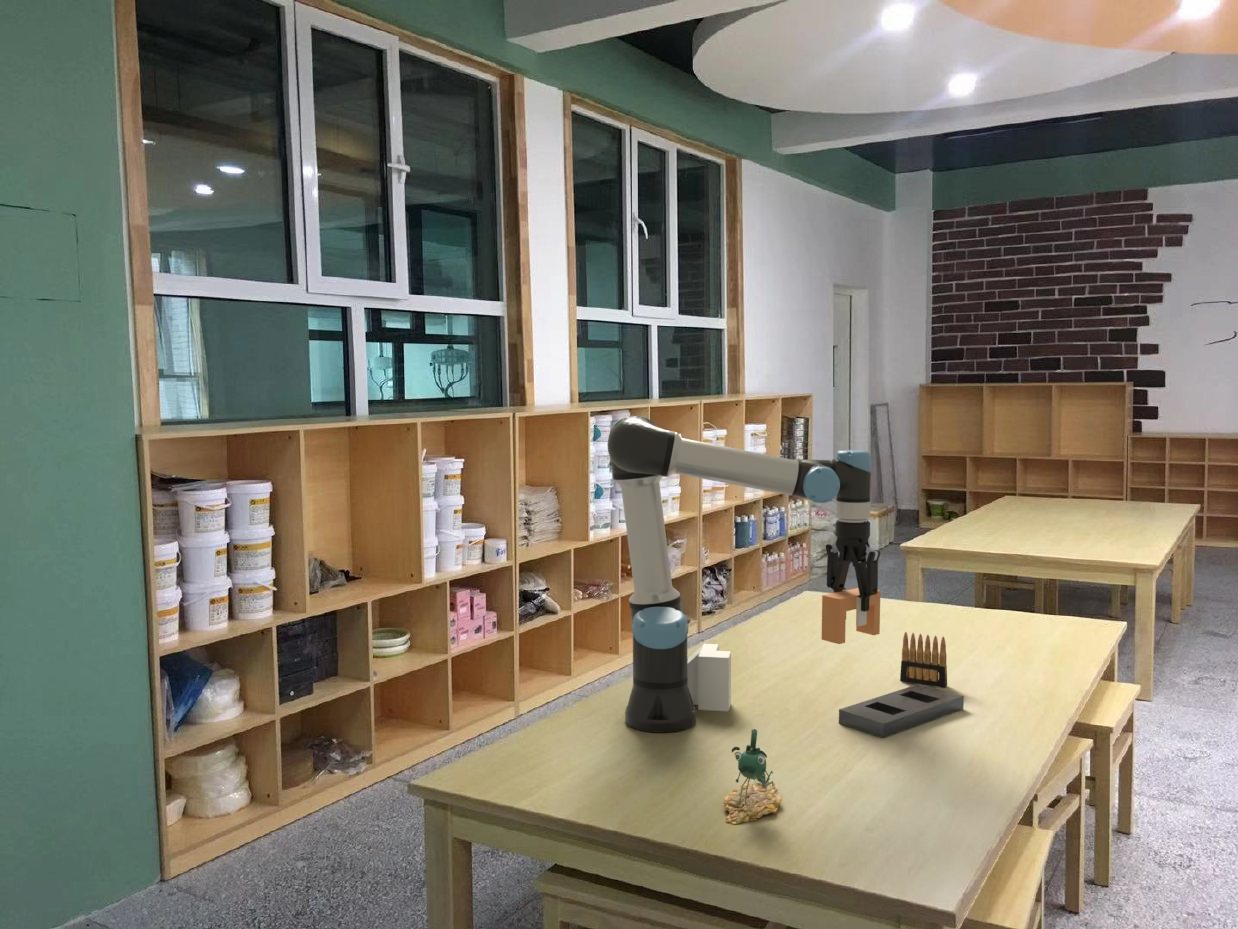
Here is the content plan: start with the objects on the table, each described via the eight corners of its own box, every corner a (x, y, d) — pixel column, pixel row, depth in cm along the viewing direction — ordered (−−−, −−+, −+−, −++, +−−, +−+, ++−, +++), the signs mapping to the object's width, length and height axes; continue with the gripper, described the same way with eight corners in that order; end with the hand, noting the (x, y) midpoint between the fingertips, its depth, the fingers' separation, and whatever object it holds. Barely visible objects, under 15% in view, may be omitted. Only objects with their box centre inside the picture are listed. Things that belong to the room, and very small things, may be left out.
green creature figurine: (803, 794, 185) (801, 716, 182) (756, 843, 170) (753, 759, 167) (754, 782, 190) (751, 706, 187) (705, 828, 176) (701, 746, 173)
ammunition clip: (899, 681, 250) (900, 632, 248) (902, 679, 251) (902, 630, 250) (945, 688, 244) (946, 638, 243) (947, 686, 246) (948, 636, 245)
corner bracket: (728, 711, 229) (728, 657, 228) (677, 708, 231) (677, 655, 230) (733, 696, 239) (733, 645, 238) (684, 693, 242) (683, 642, 241)
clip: (839, 644, 228) (840, 599, 227) (821, 639, 232) (822, 595, 231) (879, 634, 237) (880, 590, 236) (861, 629, 241) (862, 586, 240)
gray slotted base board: (883, 738, 212) (883, 723, 211) (838, 723, 221) (839, 709, 220) (963, 709, 229) (963, 695, 229) (919, 696, 238) (919, 683, 238)
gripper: (897, 522, 227) (894, 627, 229) (832, 513, 241) (830, 612, 243) (875, 526, 223) (873, 633, 225) (810, 516, 237) (809, 617, 239)
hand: (851, 622), depth 234 cm, fingers closed on clip, 5 cm apart
